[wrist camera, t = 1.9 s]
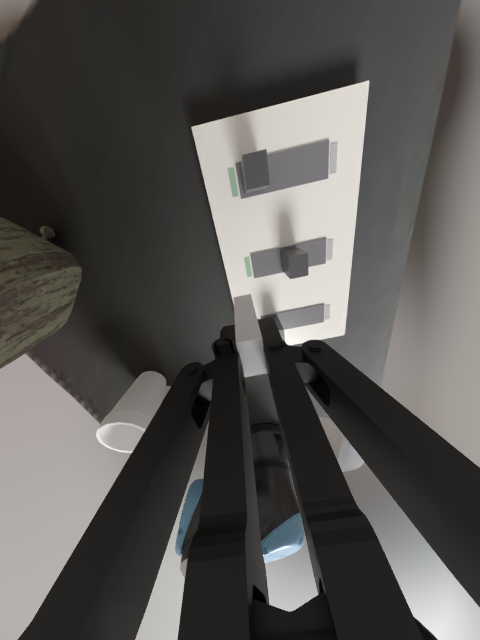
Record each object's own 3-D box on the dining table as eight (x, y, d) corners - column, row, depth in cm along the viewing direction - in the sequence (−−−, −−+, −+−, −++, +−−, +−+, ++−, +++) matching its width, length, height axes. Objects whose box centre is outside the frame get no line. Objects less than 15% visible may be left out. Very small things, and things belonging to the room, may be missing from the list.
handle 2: (279, 329, 35) (285, 344, 31) (266, 332, 35) (270, 347, 31) (277, 316, 33) (284, 329, 29) (263, 318, 34) (268, 332, 30)
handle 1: (263, 189, 24) (269, 184, 20) (244, 194, 24) (247, 190, 20) (260, 160, 23) (266, 149, 19) (239, 165, 23) (242, 154, 19)
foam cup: (151, 359, 41) (120, 415, 29) (181, 382, 45) (164, 439, 33) (122, 378, 43) (84, 437, 32) (153, 399, 47) (129, 457, 36)
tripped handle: (297, 267, 29) (308, 275, 25) (282, 270, 29) (290, 279, 25) (297, 247, 28) (308, 252, 24) (280, 251, 28) (288, 256, 24)
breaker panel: (338, 328, 39) (345, 335, 37) (244, 346, 40) (245, 354, 38) (355, 93, 22) (370, 79, 20) (194, 135, 23) (191, 126, 21)
